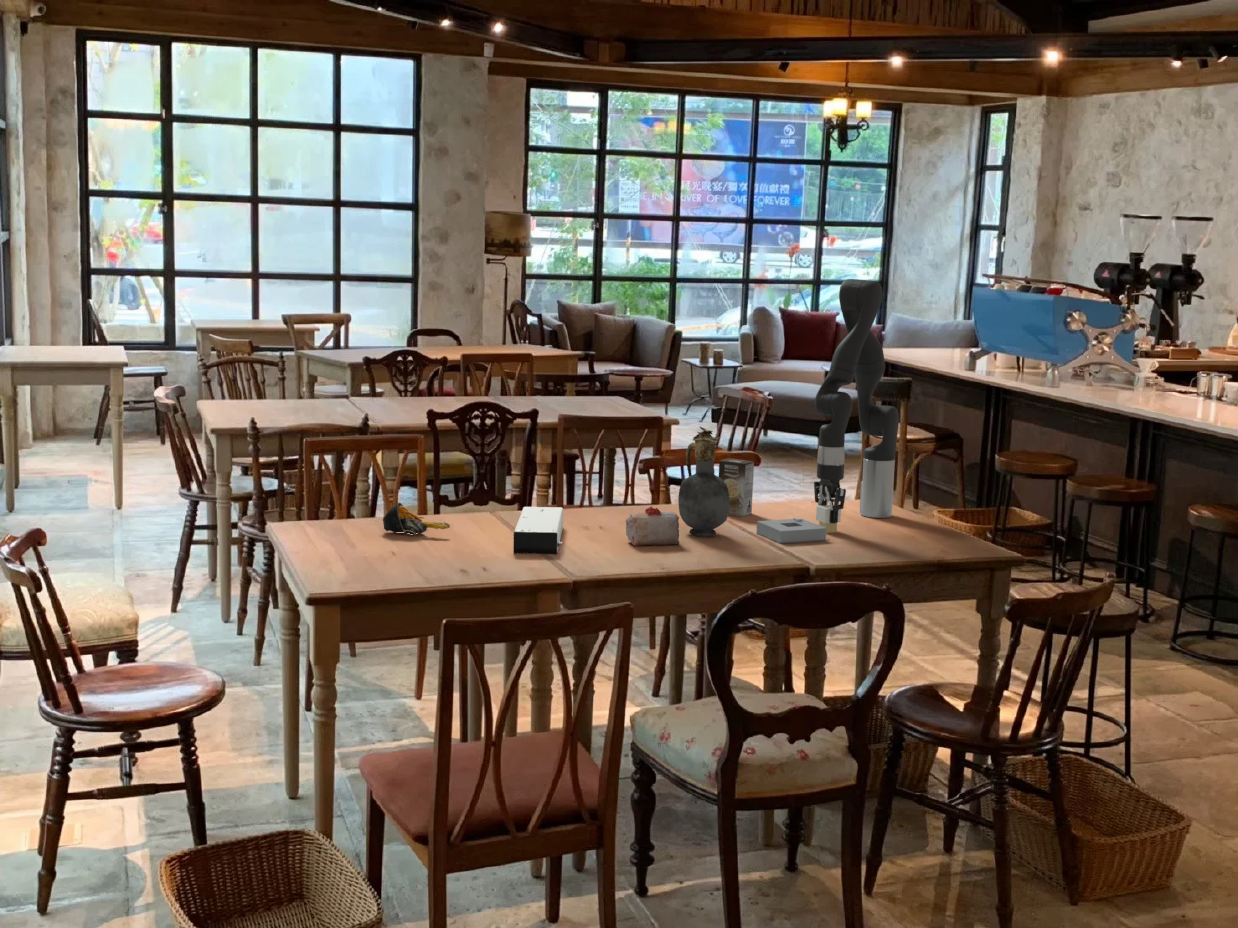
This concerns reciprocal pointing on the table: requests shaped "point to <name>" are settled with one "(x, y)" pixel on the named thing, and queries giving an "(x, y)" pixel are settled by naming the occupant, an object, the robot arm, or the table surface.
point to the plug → (826, 518)
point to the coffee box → (738, 484)
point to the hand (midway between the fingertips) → (828, 520)
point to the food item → (653, 528)
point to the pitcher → (703, 489)
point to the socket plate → (791, 531)
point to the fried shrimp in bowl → (408, 521)
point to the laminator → (538, 530)
